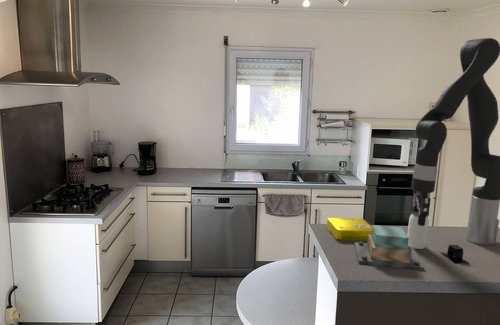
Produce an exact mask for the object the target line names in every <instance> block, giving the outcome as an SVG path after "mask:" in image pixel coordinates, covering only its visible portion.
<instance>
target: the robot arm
mask: <svg viewBox="0 0 500 325" xmlns="http://www.w3.org/2000/svg"><path fill="white" fill-rule="evenodd" d="M499 56H500V43H499V41H498V40H497V39H495V38H491V37H487V38H485V37H484V38H474V39H469V40H466V41H465V42H464V43H462V45H461V47H460V51H459V58H460V65H461V69H462V74H461V75H460V76H458V77H457V78H456V79H455V80H454V81H453V82H451V83H450V84H449V85H448V86H447V87H446V88H445V89H444V90H443V91H442V93H441V95H440V96H439V98H438V99H437V101H436V102H435V103H434V106H432V108H431V109H430V110H428V111H427V112H426V113H425V114H424V115H423V116H422V117H421V118H420V120H418V121H417V124H416V126H415V135H416V136H417V138H418V139H419V140H423V141H426V143H425V146H423V147H418V149H417V151H416V156H415V163H414V169H413V172H412V173H413V174H412V180H411V190H412V191H413V196H412V200H411V201H412V202H411V205H412V208H413V209H412V212H419V217H418V225H419V226H424V225H425V220H426V216H427V215H428V216H429V215H430V206H431V201H432V199H431V197H429V194H432V193H434V192H435V188H436V181H437V173H438V163H439V162H438V161H439V155H440V152H441V150H442V148H443V146H444V144H445V141H446V140H447V135H448V129H447V126H446V124H445V123H444V121H446V120H450V119H452V118H453V116H454V115H455V114H456V112H457V110H458V109H459V107H460V106H461V105H462V103H463V102H464V100H465V99H466V98H467V99H466V101H467V112H468V120H469V126H470V128H469V129H470V141H471V142H470V145H471V146H470V147H471V148H470V149H471V150H470V151H471V152H470V153H471V154H470V166H471V171H472V173H473V175H475V176H476V177H479V178H481V179H485V181H484V184H483V185H482V186H475V187H474V188H473V189H472V194H471V202H470V208H469V215H468V221H467V229H466V235H465V239H466V240H467V241H469V242H471V243H475V244H478V243H479V245H483V244H487V245H486V246H491V245H496V243H497V237H498V231H499V224H500V219H499V218H498V217H499V211H500V155H497V154H496V155H495V154H492V153H490V148H489V146H490V137H491V135H492V134H493V132H494V130H495V128H496V126H497V125H498V121H499V105H498V100H497V98H496V96H495V94H494V92H493V91H492V89H491V88H490V86H489V85H488V83H487V81H486V80H485V76H484V75H485V74H486V73H487V72H488V71H489V70H490V69H491V67H493V66H494V65H495V63H496V61H497V60H498V59H499ZM490 244H491V245H490Z"/></svg>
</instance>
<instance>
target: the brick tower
mask: <svg viewBox="0 0 500 325" xmlns="http://www.w3.org/2000/svg"><path fill="white" fill-rule="evenodd" d="M371 226H372V234H371V235H368V239H367V242H365V243H364V241H357V242H356V241H355V242H354V244H353V245H354V249H356V250H355V253H356V258H357V263H358V264H361V265H370V266H379V267H380V266H381V267H389V268H398V269H406V270H407V269H409V270H417V271H418V270H419V271H425V266H424V264H423V262H422V261H421V259H420V258H419V255H418V253H417V252H416V249H414V248H411V247H409V246H408V240H409V238H408V236H407V234H408V233H407V232H406V231H405V230H404V228H403V227H396V226H388V225H387V226H386V225H379V224H378V225H376V224H371Z"/></svg>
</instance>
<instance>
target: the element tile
mask: <svg viewBox="0 0 500 325" xmlns="http://www.w3.org/2000/svg"><path fill="white" fill-rule="evenodd" d="M326 229H327V230H328V232H329V233H330V232H331V233H332V234H333V235H332V234H331V233H330V234H331V235H332V236H333V238H334V239H335V238H337V239H340V240H339V241H360V240H361V241H360V242H364V241H365V242H366V241H367V239H368V235H371V234H372V224H370V223H368V222H367V221H366V220H365V219H363V218H362V217H328V218H327V222H326ZM337 239H336V240H337Z"/></svg>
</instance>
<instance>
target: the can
mask: <svg viewBox="0 0 500 325" xmlns="http://www.w3.org/2000/svg"><path fill="white" fill-rule="evenodd" d="M418 217H419V212H413V211H412V212H411V214H410V216H409V218H408V219H409V220H408V228H407V233H406V234H407V236H408V238H409V240H408V246H409V247H411V248H414V250H423V249H426V247H427V239H428V230H429V223H430V219H429V215H427V216H426V220H425V225H424V226H419V225H418Z"/></svg>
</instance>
